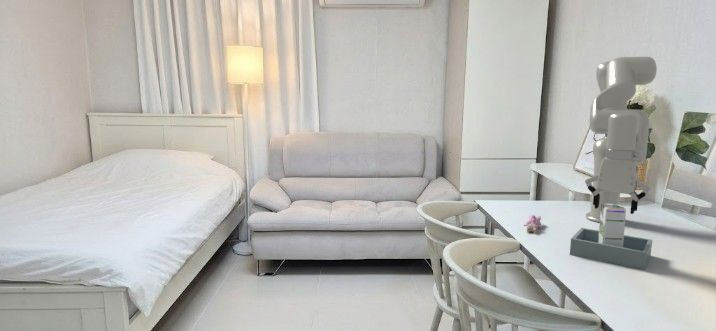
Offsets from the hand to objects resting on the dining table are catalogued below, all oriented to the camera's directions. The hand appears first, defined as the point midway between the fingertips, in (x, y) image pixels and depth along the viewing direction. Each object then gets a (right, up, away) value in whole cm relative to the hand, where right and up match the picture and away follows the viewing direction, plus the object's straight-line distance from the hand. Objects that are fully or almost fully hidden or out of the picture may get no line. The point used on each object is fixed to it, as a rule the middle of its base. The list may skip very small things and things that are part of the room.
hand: (614, 210), depth 142 cm
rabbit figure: (-14, -10, +28) cm, 33 cm away
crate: (0, -14, +2) cm, 14 cm away
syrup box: (0, -13, +2) cm, 13 cm away
